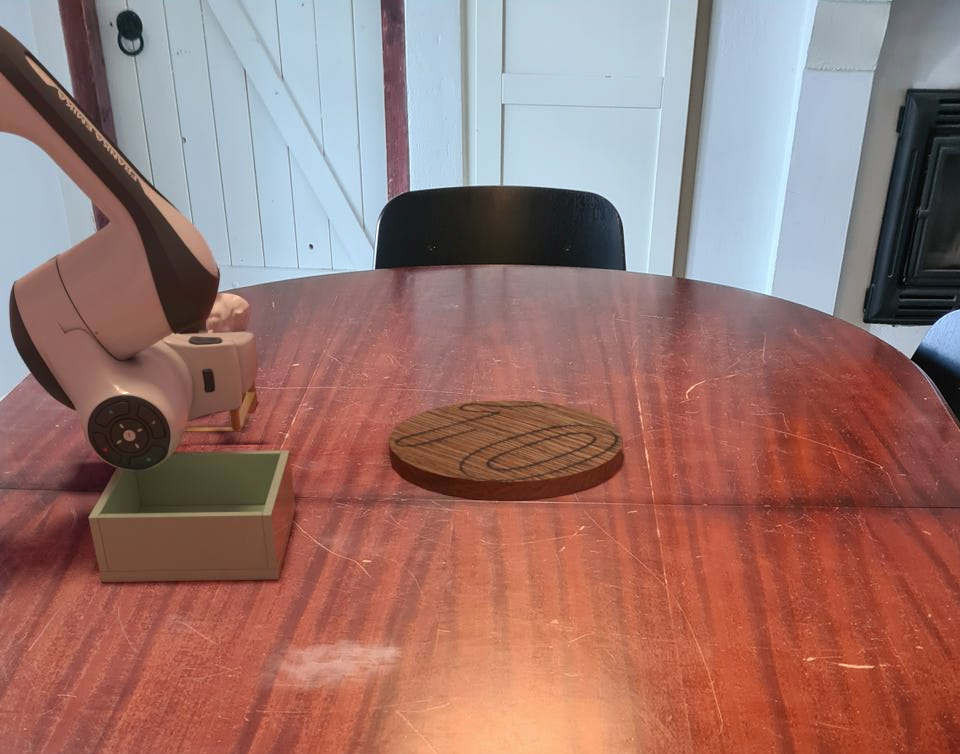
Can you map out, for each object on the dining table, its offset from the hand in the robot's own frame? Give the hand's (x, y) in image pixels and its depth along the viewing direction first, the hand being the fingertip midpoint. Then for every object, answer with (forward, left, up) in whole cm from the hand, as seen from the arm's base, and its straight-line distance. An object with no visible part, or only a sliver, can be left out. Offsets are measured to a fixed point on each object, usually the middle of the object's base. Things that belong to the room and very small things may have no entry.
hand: (162, 339), depth 130 cm
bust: (-3, +41, -11) cm, 42 cm away
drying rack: (0, +7, -11) cm, 13 cm away
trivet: (+36, -5, -11) cm, 38 cm away
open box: (+7, -27, -11) cm, 30 cm away
